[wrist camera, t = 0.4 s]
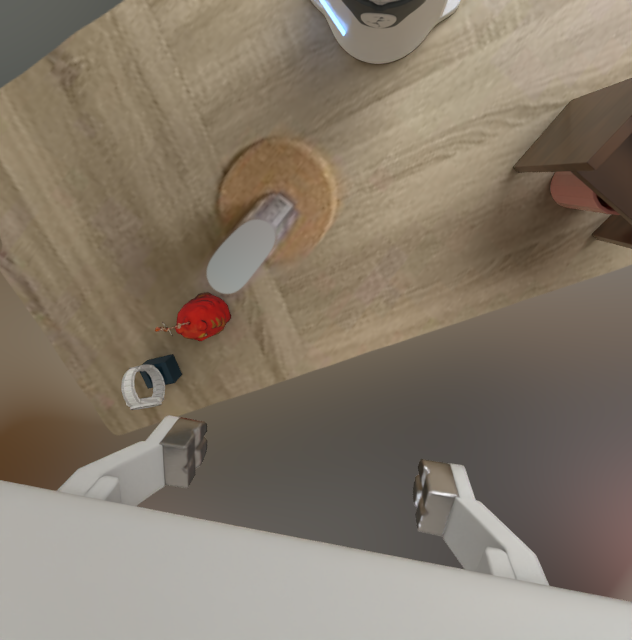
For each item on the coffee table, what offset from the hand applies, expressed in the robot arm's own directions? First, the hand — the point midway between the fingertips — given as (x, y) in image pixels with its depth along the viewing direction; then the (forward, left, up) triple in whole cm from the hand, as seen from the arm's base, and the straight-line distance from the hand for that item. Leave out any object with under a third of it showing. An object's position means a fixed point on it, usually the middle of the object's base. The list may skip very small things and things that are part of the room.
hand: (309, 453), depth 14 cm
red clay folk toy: (+14, -22, -48) cm, 55 cm away
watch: (+27, -31, -48) cm, 63 cm away
